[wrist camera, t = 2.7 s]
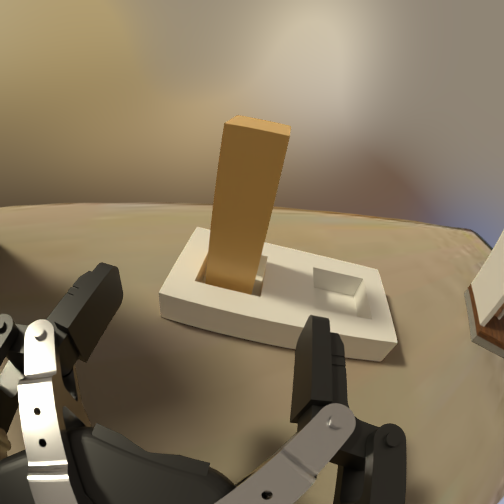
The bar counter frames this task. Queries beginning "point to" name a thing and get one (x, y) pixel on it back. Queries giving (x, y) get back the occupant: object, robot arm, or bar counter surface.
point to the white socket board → (283, 299)
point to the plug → (244, 199)
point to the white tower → (488, 302)
